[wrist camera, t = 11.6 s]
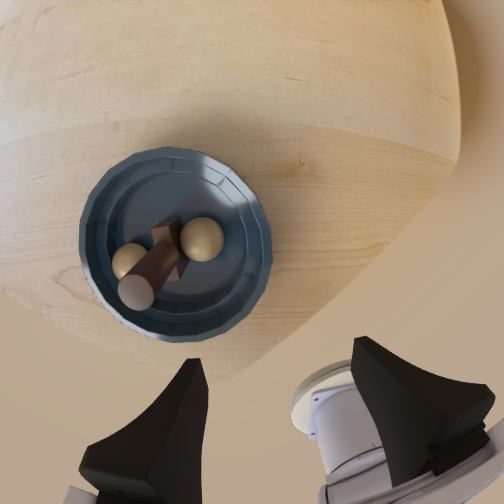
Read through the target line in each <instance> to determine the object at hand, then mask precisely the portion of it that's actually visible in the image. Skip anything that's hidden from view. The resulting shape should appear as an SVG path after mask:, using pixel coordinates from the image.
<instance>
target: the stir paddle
mask: <svg viewBox="0 0 504 504" xmlns="http://www.w3.org/2000/svg"><path fill="white" fill-rule="evenodd" d="M182 229H183V228H182V223H181V217H180V216H177V217H171V218H165V219H164V220H163V221H161V222H160V223H158V224H157V225H155V226H154V227H153V228H151V232H152V237H153V241H154V247H153V248H152V249H150V250H149V251H148V252H147V253H146V254H145V255H144V256H143V257H142V258H141V259H140V260H139V261H138V262H137V263H136V264H135V265H134V266H133V267H132V268H131V269H130V270H129V271H128V272H127V273H126V274H125V275H124V276H123V277H122V278H121V280H120V281H119V284H118V294H119V297H120V299H121V300H122V302H123V303H124V304H125V305H126V306H128V307H129V308H131V309H133V310H138V311H141V310H145V309H148V308H149V307H150V306H151V305H152V304H153V302H154V300H155V299H156V297H157V295H158V294H159V292H160V290H161V289H162V287H163V285H164V284H165V282H171V281H179V280H180V279H181V277H182V275H183V274H184V272H185V270H186V268H187V266H188V264H189V259H188V256H187V255H186V254H185V253H184V252H183V250H182V248H181V244H180V234H181V231H182Z"/></svg>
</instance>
